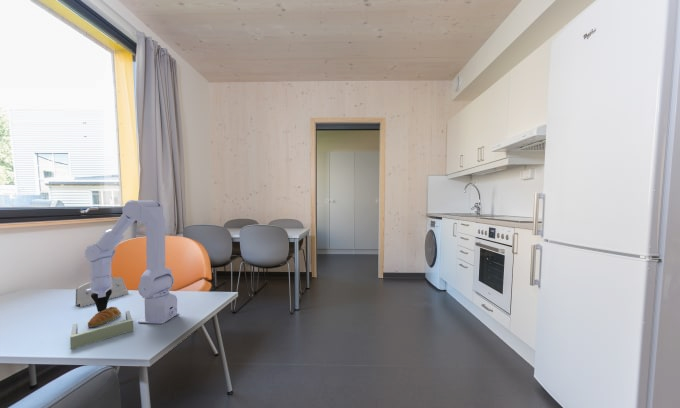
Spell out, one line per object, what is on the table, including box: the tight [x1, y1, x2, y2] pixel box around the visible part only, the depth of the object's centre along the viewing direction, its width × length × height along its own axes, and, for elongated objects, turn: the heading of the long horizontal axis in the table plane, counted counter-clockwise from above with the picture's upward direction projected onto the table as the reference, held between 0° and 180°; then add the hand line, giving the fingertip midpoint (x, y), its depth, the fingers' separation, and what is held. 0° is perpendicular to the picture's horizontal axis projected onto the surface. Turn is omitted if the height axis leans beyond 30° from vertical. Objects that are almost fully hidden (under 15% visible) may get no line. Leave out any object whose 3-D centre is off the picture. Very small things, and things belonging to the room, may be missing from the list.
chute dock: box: [69, 310, 134, 350], centre depth 80 cm, size 12×14×4 cm
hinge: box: [75, 276, 129, 308], centre depth 108 cm, size 17×5×10 cm, turn 154°
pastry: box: [87, 306, 122, 328], centre depth 88 cm, size 9×7×4 cm
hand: (102, 310), depth 93 cm, fingers closed
